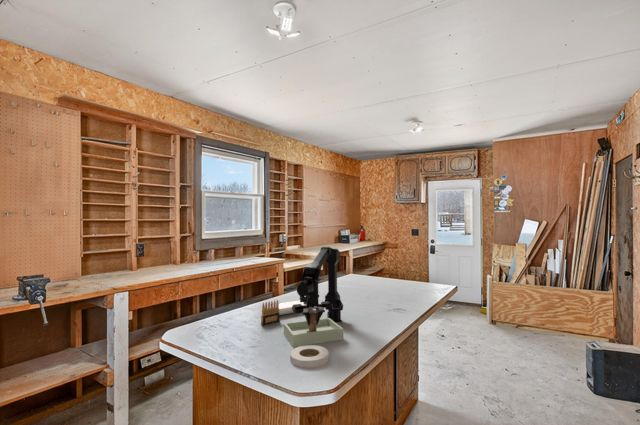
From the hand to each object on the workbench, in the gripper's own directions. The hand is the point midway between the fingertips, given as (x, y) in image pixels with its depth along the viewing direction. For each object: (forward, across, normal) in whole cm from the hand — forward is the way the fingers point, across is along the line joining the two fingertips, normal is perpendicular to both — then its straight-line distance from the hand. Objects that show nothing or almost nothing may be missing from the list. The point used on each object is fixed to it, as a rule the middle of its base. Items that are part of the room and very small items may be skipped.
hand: (312, 325), depth 152 cm
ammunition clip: (+6, +15, -27) cm, 31 cm away
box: (+5, 0, 0) cm, 5 cm away
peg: (+2, 0, 0) cm, 2 cm away
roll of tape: (+6, +9, +23) cm, 26 cm away
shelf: (+6, 0, -43) cm, 43 cm away
